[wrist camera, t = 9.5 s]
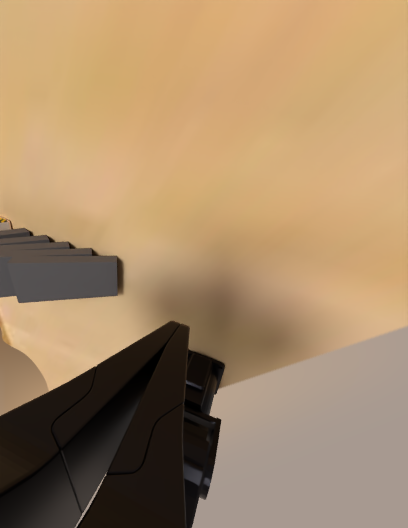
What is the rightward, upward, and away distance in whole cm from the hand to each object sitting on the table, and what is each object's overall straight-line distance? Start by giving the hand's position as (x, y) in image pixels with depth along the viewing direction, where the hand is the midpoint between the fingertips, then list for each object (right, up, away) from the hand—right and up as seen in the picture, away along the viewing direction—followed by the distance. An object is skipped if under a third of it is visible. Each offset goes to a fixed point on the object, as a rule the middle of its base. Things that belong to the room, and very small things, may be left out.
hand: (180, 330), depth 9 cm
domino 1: (-10, +1, +17) cm, 20 cm away
